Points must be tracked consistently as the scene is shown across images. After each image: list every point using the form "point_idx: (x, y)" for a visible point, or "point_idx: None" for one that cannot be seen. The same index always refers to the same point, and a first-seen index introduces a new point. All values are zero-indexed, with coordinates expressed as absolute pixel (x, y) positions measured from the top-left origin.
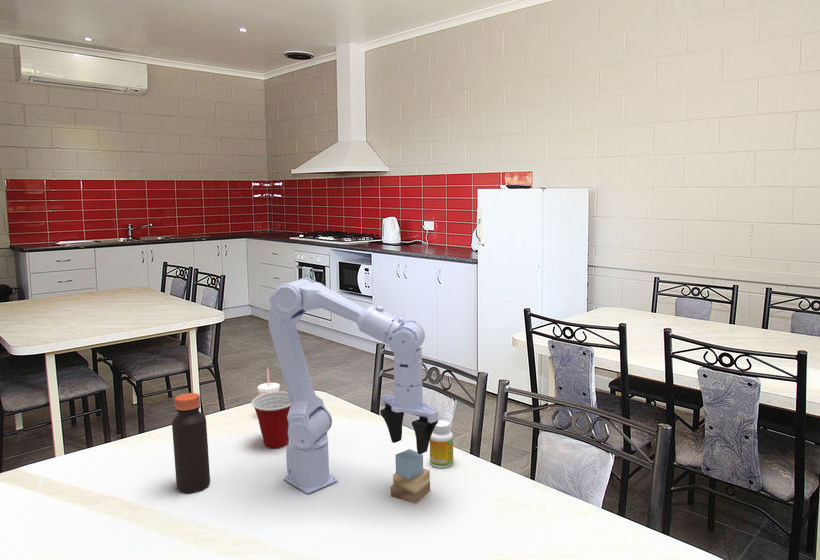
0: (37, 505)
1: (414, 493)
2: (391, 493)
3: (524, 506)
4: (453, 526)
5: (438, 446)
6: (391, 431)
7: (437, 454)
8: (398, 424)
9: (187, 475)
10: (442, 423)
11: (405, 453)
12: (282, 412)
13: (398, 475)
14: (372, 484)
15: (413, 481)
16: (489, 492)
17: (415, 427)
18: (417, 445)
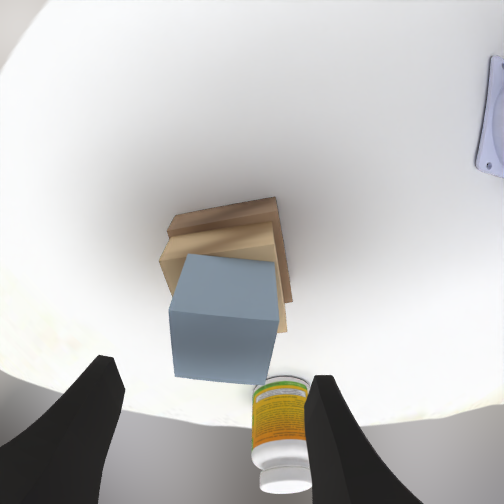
0: None
1: (171, 230)
2: (271, 201)
3: (37, 341)
4: (32, 199)
5: (272, 428)
6: (333, 435)
7: (274, 407)
8: (320, 484)
9: None
10: (282, 488)
11: (245, 352)
12: None
13: (249, 253)
14: (379, 217)
15: (170, 257)
16: (105, 354)
17: (4, 482)
18: (82, 389)
